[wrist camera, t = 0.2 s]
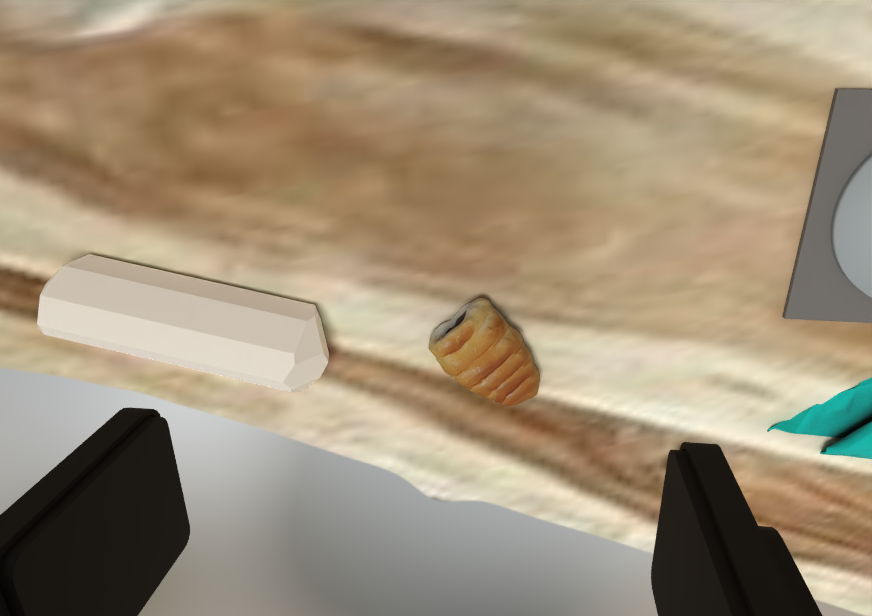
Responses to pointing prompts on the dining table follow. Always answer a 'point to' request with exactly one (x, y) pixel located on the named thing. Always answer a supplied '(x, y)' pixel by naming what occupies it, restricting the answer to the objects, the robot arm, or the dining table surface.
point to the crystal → (185, 322)
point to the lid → (855, 228)
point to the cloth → (839, 422)
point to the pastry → (486, 354)
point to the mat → (815, 263)
